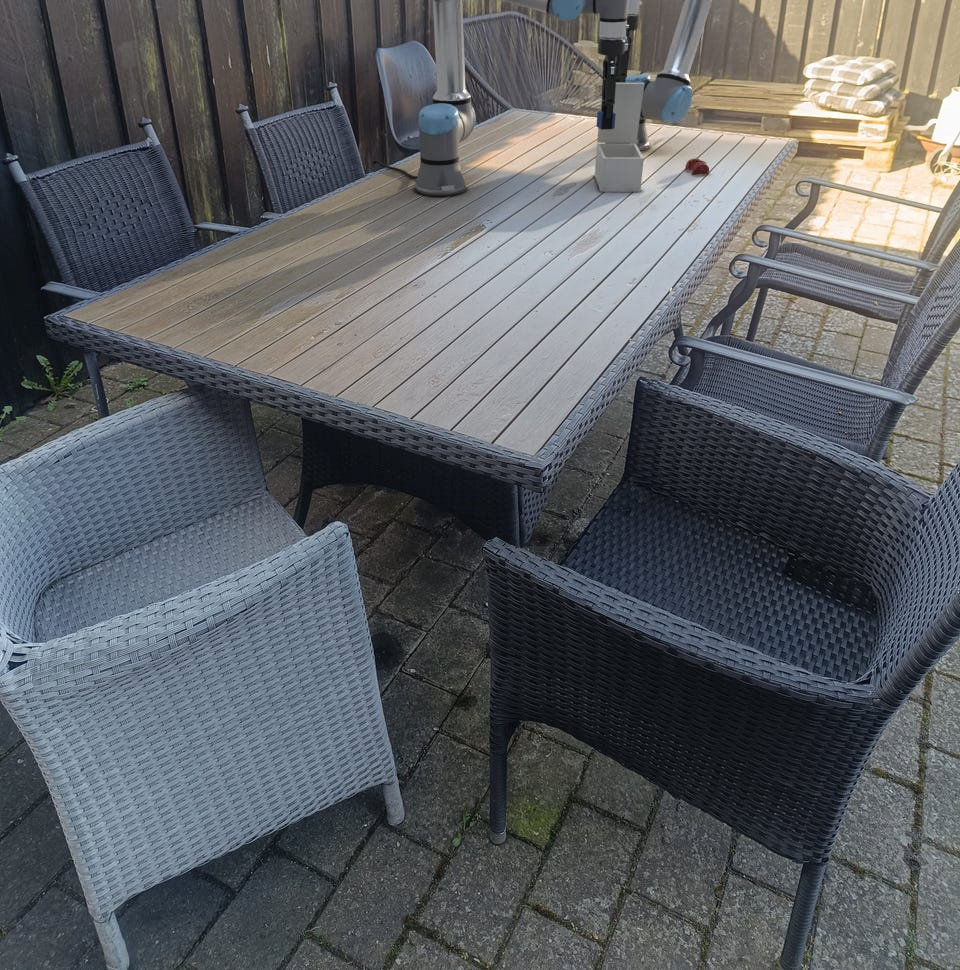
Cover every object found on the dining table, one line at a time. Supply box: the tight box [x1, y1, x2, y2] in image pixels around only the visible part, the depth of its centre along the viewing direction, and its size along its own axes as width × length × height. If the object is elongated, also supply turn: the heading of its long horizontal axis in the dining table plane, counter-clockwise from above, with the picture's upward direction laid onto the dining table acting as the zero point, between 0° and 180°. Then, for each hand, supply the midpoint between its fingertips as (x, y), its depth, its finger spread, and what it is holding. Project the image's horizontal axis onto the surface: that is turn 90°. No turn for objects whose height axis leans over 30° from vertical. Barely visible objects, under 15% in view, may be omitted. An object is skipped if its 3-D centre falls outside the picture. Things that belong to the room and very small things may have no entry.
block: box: [596, 110, 616, 130], centre depth 247 cm, size 4×4×4 cm
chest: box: [594, 143, 645, 193], centre depth 261 cm, size 17×12×10 cm
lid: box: [596, 82, 644, 144], centre depth 260 cm, size 18×12×9 cm
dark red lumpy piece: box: [684, 157, 710, 176], centre depth 272 cm, size 6×4×8 cm
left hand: (606, 126), depth 248 cm, fingers closed on block, 5 cm apart
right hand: (618, 100), depth 261 cm, fingers closed on lid, 1 cm apart
